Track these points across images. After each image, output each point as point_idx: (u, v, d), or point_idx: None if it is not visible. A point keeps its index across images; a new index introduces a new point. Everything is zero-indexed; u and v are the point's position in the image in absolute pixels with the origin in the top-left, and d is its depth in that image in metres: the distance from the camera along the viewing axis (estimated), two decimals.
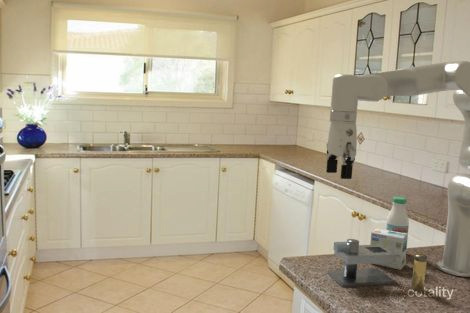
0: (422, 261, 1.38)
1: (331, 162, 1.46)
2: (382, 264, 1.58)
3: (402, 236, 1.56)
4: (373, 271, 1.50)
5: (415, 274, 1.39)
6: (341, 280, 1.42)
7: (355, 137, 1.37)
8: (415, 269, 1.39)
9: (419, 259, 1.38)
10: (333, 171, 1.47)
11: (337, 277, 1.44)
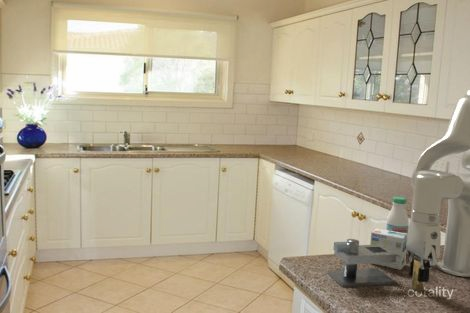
0: None
1: None
2: (382, 264, 1.58)
3: (402, 236, 1.56)
4: (373, 271, 1.50)
5: (415, 274, 1.39)
6: (341, 280, 1.42)
7: (439, 240, 1.34)
8: (415, 269, 1.39)
9: (419, 259, 1.38)
10: None
11: (337, 277, 1.44)
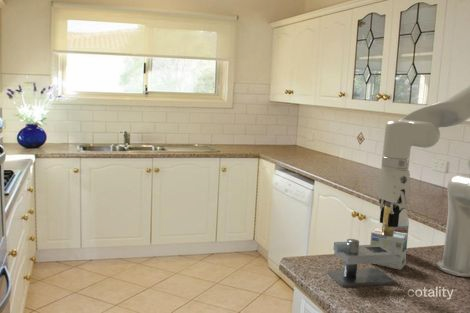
0: None
1: None
2: (382, 264, 1.58)
3: (402, 236, 1.55)
4: (373, 271, 1.50)
5: (385, 219, 1.42)
6: (341, 280, 1.42)
7: (408, 184, 1.37)
8: (385, 215, 1.42)
9: (389, 204, 1.41)
10: None
11: (337, 277, 1.44)
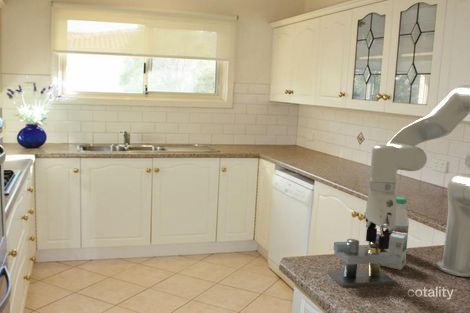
0: (376, 248, 1.44)
1: (371, 231, 1.48)
2: (382, 264, 1.58)
3: (402, 236, 1.55)
4: None
5: None
6: (341, 280, 1.42)
7: (395, 207, 1.40)
8: None
9: (372, 246, 1.45)
10: (372, 240, 1.49)
11: (337, 277, 1.44)
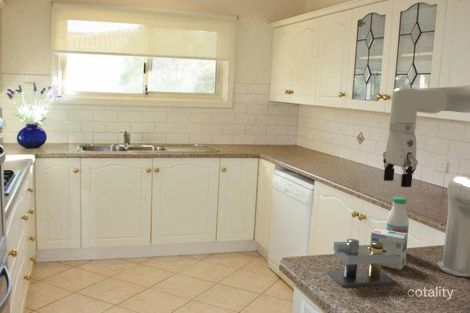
0: (378, 249, 1.44)
1: (388, 171, 1.54)
2: (382, 264, 1.58)
3: (402, 236, 1.56)
4: None
5: None
6: (341, 280, 1.42)
7: (415, 147, 1.44)
8: None
9: (375, 246, 1.44)
10: (390, 179, 1.54)
11: (337, 277, 1.44)
